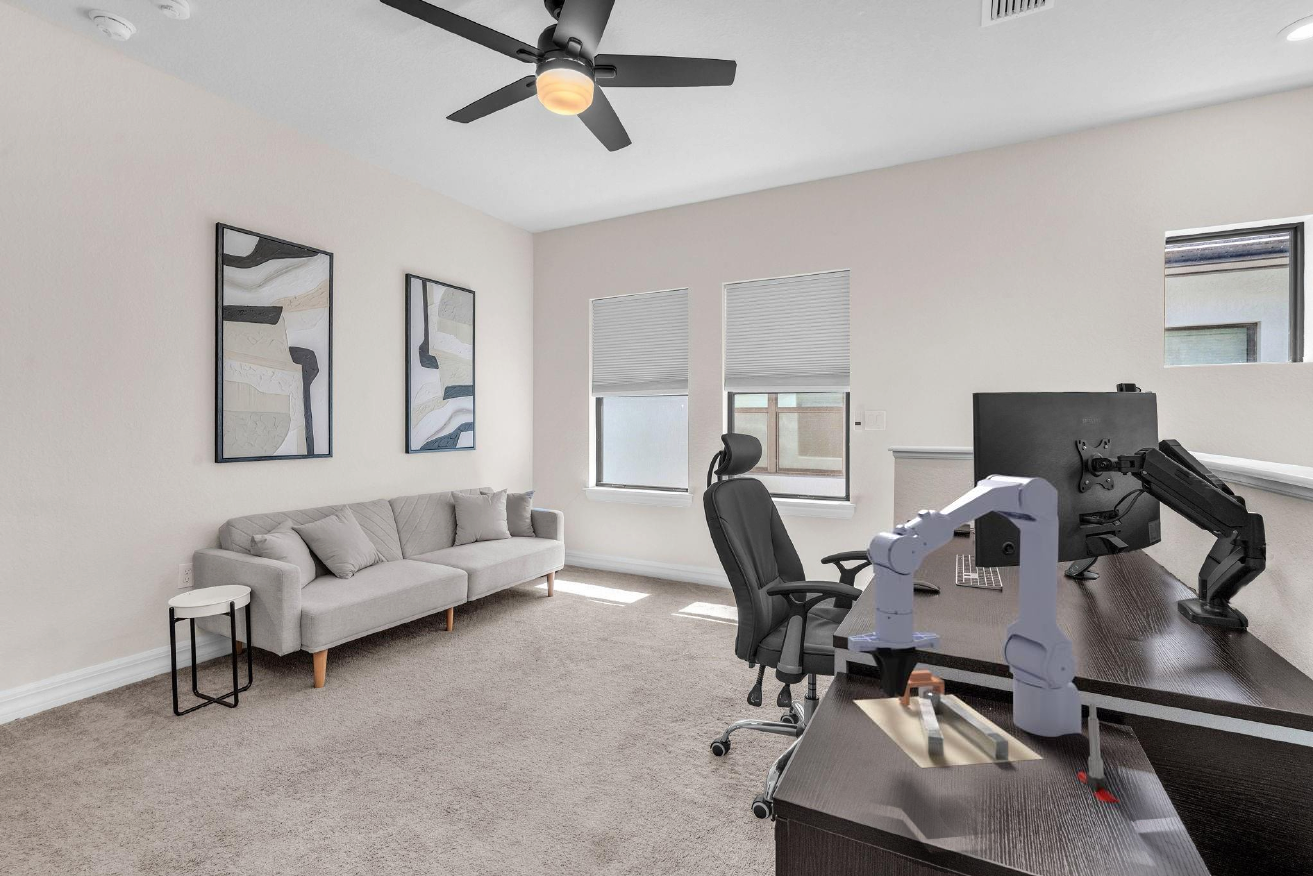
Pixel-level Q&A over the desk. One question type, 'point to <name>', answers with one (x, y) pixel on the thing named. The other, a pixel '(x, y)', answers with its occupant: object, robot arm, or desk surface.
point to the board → (957, 747)
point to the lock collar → (921, 684)
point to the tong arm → (930, 727)
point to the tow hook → (1095, 761)
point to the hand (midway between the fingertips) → (894, 694)
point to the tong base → (966, 723)
